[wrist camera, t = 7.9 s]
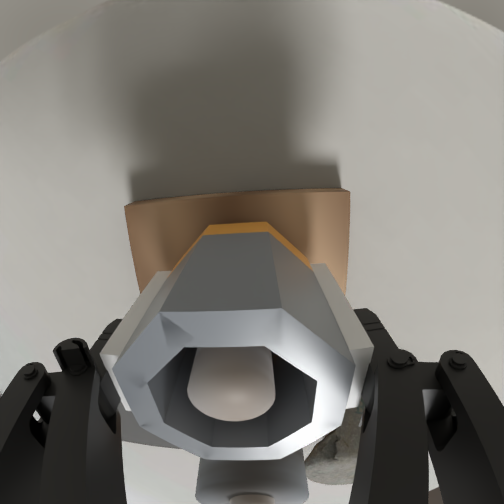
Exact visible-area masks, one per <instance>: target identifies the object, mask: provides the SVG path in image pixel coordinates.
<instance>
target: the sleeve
mask: <svg viewBox="0 0 504 504" xmlns="http://www.w3.org/2000/svg"><path fill="white" fill-rule="evenodd" d="M249 346H265V347H267V348H268V349H270V350H271V353H272V363H273V374H274V384H275V400H274V403H273V405H272V406H271V407H270V409H269V410H268V411H266V412H265V413H264V414H262V415H260V416H258V417H256V418H253V419H249V420H244V421H224V420H219V419H216V418H213V417H210V416H208V415H206V414H204V413H202V412H201V411H199V410H198V409H197V408H196V407H195V406H194V405H193V404H192V403H191V401H190V399H189V397H188V393H187V388H188V383H189V379H190V375H191V371H192V367H193V363H194V359H195V355H196V351H197V347H249ZM355 367H356V364H355V362H354V360H353V357H352V355H351V353H350V350H349V348H348V346H347V344H346V341H345V339H344V337H343V335H342V332H341V330H340V328H339V326H338V323H337V321H336V319H335V317H334V314H333V312H332V310H331V308H330V306H329V304H328V301H327V299H326V297H325V295H324V293H323V291H322V289H321V287H320V284H319V282H318V280H317V278H316V276H315V274H314V272H313V270H312V268H311V266H310V263H309V261H308V259H307V258H306V257H305V256H304V255H303V254H302V253H301V252H300V251H299V250H298V249H297V248H295V247H294V246H293V245H292V244H291V243H290V242H289V241H288V240H287V239H285V238H284V237H283V236H282V235H281V234H280V233H279V232H278V231H276V230H275V229H274V228H273V227H272V226H271V225H270V224H269V223H267V222H250V223H232V224H216V225H209V226H208V227H207V228H206V229H205V230H204V232H203V233H202V234H201V235H200V236H199V238H198V239H197V240H196V241H195V242H194V243H193V245H192V246H191V247H190V248H189V249H188V251H187V252H186V253H185V254H184V255H183V257H182V258H181V259H180V260H179V261H178V263H177V264H176V265H175V267H174V268H173V270H172V271H171V273H170V274H169V276H168V278H167V279H166V281H165V282H164V284H163V285H162V287H161V288H160V290H159V292H158V293H157V295H156V296H155V298H154V300H153V301H152V303H151V304H150V306H149V308H148V309H147V311H146V312H145V314H144V316H143V317H142V319H141V321H140V322H139V324H138V326H137V327H136V329H135V330H134V332H133V334H132V335H131V337H130V339H129V341H128V342H127V344H126V346H125V347H124V349H123V351H122V352H121V354H120V356H119V357H118V359H117V361H116V363H115V364H114V366H113V368H112V370H113V373H114V375H115V377H116V380H117V382H118V384H119V386H120V388H121V390H122V393H123V395H124V397H125V399H126V401H127V403H128V405H129V407H130V409H131V411H132V413H133V415H134V417H135V418H136V420H137V422H138V424H139V426H140V427H141V428H143V429H145V430H147V431H149V432H150V433H152V434H154V435H156V436H158V437H160V438H161V439H163V440H165V441H167V442H169V443H171V444H173V445H175V446H177V447H179V448H181V449H183V450H186V451H188V452H190V453H192V454H194V455H196V456H199V457H201V458H203V459H210V460H271V459H281V458H283V457H285V456H287V455H289V454H291V453H293V452H295V451H297V450H299V449H301V448H303V447H305V446H307V445H308V444H310V443H312V442H314V441H316V440H317V439H319V438H321V437H323V436H324V435H326V434H328V433H329V432H331V431H333V430H334V429H336V428H337V427H339V426H341V424H342V421H343V417H344V413H345V409H346V405H347V402H348V397H349V393H350V389H351V385H352V380H353V376H354V371H355Z"/></svg>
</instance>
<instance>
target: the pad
mask: <svg viewBox="0 0 504 504" xmlns="http://www.w3.org/2000/svg"><path fill="white" fill-rule="evenodd" d="M117 409H118V411H119V413H120V416H121V441H127V442H132V443H138V444H144V445H151V446H158V447H167V448H176V449H181V448H179V447H177V446H175V445H173V444H171V443H169V442H167V441H165V440H163V439H161V438H160V437H158V436H156V435H154V434H152V433H150V432H149V431H147V430H145V429H143V428H141V427H140V426H139V424H138V422H137V420H136V418H135V417H134V415H133V413H132V411H126V410H125V408H124V406H123V404H122V402H121V401H120V403H119V405H118V407H117Z"/></svg>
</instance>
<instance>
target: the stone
mask: <svg viewBox="0 0 504 504" xmlns="http://www.w3.org/2000/svg"><path fill="white" fill-rule="evenodd" d="M364 408H365V403H364V401H363V398H362V397H361V400H360V404H359V407H354V408H348V409H345V413H344V417H343V421H342V424H341V426H339V427H337V428H336V429H334V430H333V431H331V432H329V433H328V434H327V435H326V437H325V438H324V439H323V440H322V441H320V442H318V443H317V444H316V445H315V446H314V448H313V450H312V451H311V453H310V454H309V456H308V457H307V458H306V459H305V461H304V463H305V470H306V477H307V478H308V479H309V480H311V481H314V482H317V483H321V484H327V485H344V484H352V483H353V480H354V475H355V469H356V463H357V456H358V449H359V442H360V434H361V427H358V426H359V423H360V420H361V417H362V414H363V411H364Z"/></svg>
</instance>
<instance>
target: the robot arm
mask: <svg viewBox="0 0 504 504" xmlns="http://www.w3.org/2000/svg"><path fill="white" fill-rule="evenodd" d="M310 266H311V268H312V270H313V272H314V274H315V276H316V278H317V280H318V282H319V284H320V287H321V289H322V291H323V293H324V295H325V297H326V299H327V301H328V304H329V306H330V308H331V310H332V312H333V314H334V317H335V319H336V321H337V323H338V326H339V328H340V330H341V332H342V335H343V337H344V339H345V341H346V344H347V346H348V348H349V350H350V353H351V355H352V357H353V360H354V362H355V364H356V367H355V371H354V376H353V380H352V385H351V389H350V393H349V397H348V402H347V405H346V409H348V408H354V407H359V404H360V400H361V397H362V398H363V401H364V403H365V408H364V411H363V414H362V417H361V420H360V423H359V426H358V427H361V434H360V442H359V449H358V456H357V463H356V469H355V475H354V480H353V486H352V491H351V496H350V500H349V504H428V491H429V463H428V451H429V454H430V457H431V461H432V464H433V467H434V470H435V474H436V477H437V480H438V484H439V488H440V491H441V495H442V499H443V503H444V504H504V406H503V405H502V403H501V401H500V400H499V398H498V396H497V395H496V393H495V392H494V390H493V388H492V387H491V385H490V384H489V382H488V381H487V379H486V378H485V376H484V375H483V373H482V372H481V370H480V369H479V367H478V366H477V364H476V363H475V361H474V360H473V359H472V358H471V357H470V356H469V355H468V354H466V353H465V352H463V351H458V350H449V351H447V352H444V353H443V354H442V355H441V358H440V360H439V362H418V361H417V359H416V357H415V356H414V355H413V354H412V353H410V352H408V351H406V350H401V349H398V347H397V346H396V344H395V343H394V341H393V339H392V338H391V336H390V335H389V333H388V332H387V330H386V329H385V327H384V326H383V324H382V323H381V321H380V320H379V318H378V317H377V315H376V314H375V313H373V312H372V311H370V310H369V309H367V308H363V309H354V310H353V309H352V307H351V305H350V303H349V302H348V300H347V298H346V297H345V295H344V293H343V292H342V290H341V288H340V287H339V285H338V283H337V282H336V280H335V278H334V277H333V275H332V274H331V272H330V270H329V269H328V267H327V265H326V264H325V263H316V264H310ZM170 273H171V271H157V273H156V274H155V275H154V277H153V278H152V279H151V281H150V282H149V283H148V285H147V286H146V287H145V289H144V290H143V292H142V293H141V294H140V296H139V297H138V298H137V300H136V301H135V303H134V304H133V305H132V307H131V308H130V310H129V311H128V312H127V314H126V315H125V317H124V318H123V319H116V320H114V321H113V322H112V323H110V324H109V325H108V326H107V327H106V328H105V330H104V331H103V332H102V334H101V335H100V336H99V338H98V340H97V341H96V342H95V343H94V345H93V346H92V348H91V349H90V350H89V348H88V345H87V343H86V342H85V341H84V340H83V339H80V338H71V339H67V340H64V341H62V342H60V343H59V344H58V345H57V346H56V347H55V348H54V350H53V353H54V355H55V357H56V359H57V361H58V363H59V365H60V367H61V369H62V372H54V373H48V372H47V370H46V369H45V367H44V365H43V364H42V363H39V362H32V363H28V364H26V365H25V366H23V367H22V368H21V369H20V370H19V371H18V373H17V374H16V376H15V377H14V379H13V380H12V381H11V383H10V384H9V386H8V387H7V389H6V390H5V392H4V393H3V395H2V396H1V398H0V504H127V501H126V492H125V483H124V473H123V460H122V441H121V416H120V413H119V411H118V409H117V407H118V405H119V403H120V401H121V402H122V404H123V406H124V408H125V410H126V411H131V409H130V407H129V405H128V403H127V401H126V399H125V397H124V395H123V393H122V390H121V388H120V386H119V384H118V382H117V380H116V377H115V375H114V373H113V370H112V368H113V366H114V364H115V363H116V361H117V359H118V357H119V356H120V354H121V352H122V351H123V349H124V347H125V346H126V344H127V342H128V341H129V339H130V337H131V335H132V334H133V332H134V330H135V329H136V327H137V326H138V324H139V322H140V321H141V319H142V317H143V316H144V314H145V312H146V311H147V309H148V308H149V306H150V304H151V303H152V301H153V300H154V298H155V296H156V295H157V293H158V292H159V290H160V288H161V287H162V285H163V284H164V282H165V281H166V279H167V278H168V276H169V274H170ZM35 410H36V411H37V412H38V414H39V415H40V417H41V418H40V419H39V420H38V421H36V419H35V418H34V417H33V414H34V412H35Z"/></svg>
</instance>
